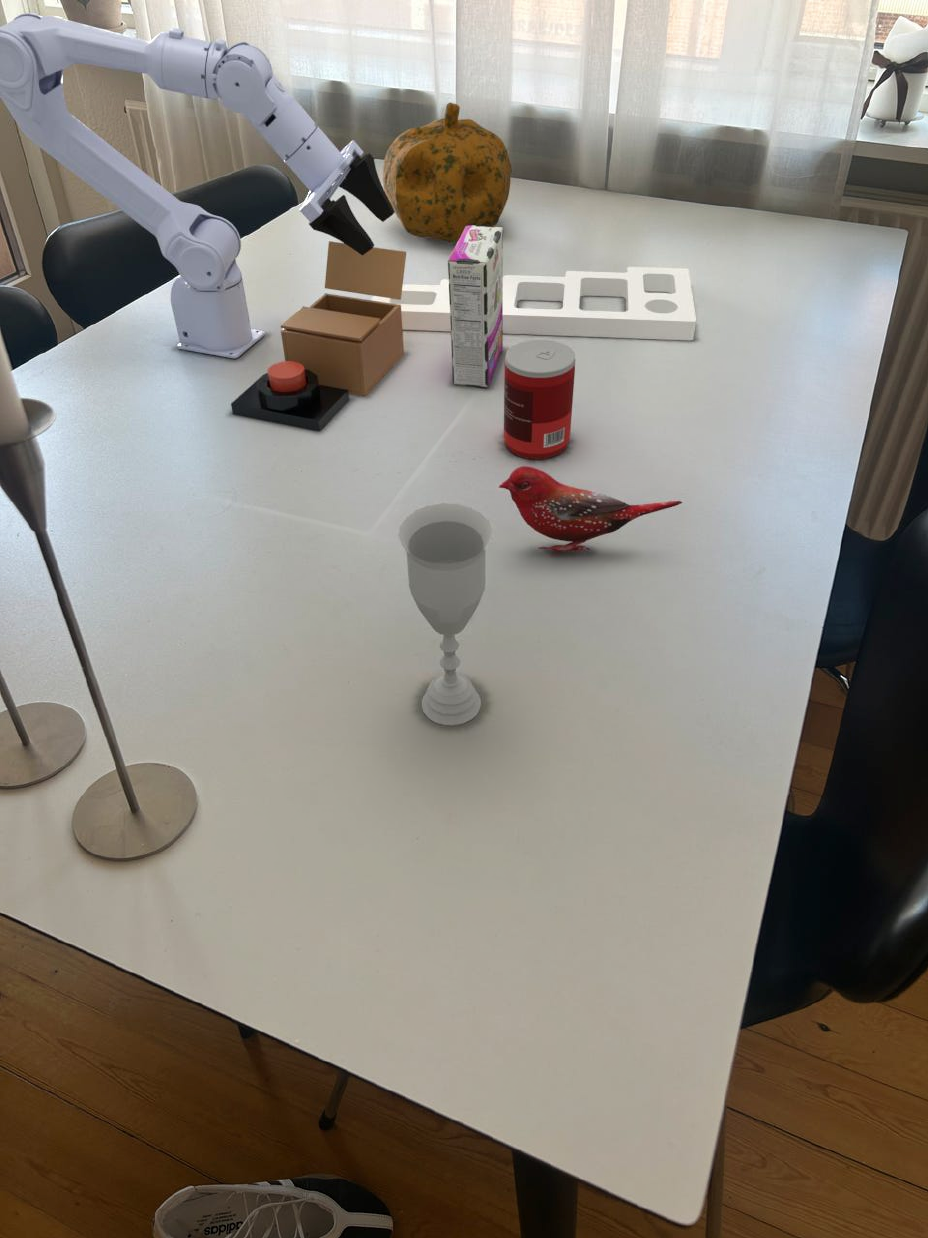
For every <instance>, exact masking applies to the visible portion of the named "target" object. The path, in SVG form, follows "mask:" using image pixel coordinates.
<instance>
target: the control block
mask: <svg viewBox="0 0 928 1238" xmlns="http://www.w3.org/2000/svg"><path fill="white" fill-rule="evenodd" d="M305 376H306V386H305V387H304V388H301V389H299V390H296V391H291V392H278V391H273V390H272V389H271V388H270V383H269V377H268V372H265V373H264V374H262V375H261V376H260V377H259V378H258V379H257V380H255V381H254V382H253V384H251V385H250V386H249V387H248V388H247V389H245V390H244V391H243V392H242V393H241V394H240V395H239V396H238V397H237V398H235V399H234V400H233V401H232V402H231V403H230V407H231V412H232V415H235V416H239V417H245V418H249V419H255V420H259V421H264V422H270V423H274V424H280V425H284V426H289V427H295V428H299V429H305V430H310V431H315V432H321V431H322V430H323V429H324V428H325V427H326V426H327V424H329V422H330V421H332V420H333V418H335V416H336V415H337V414H338V413H339V412H340V411H341V410H342V409H343V407H344V406H345V405H346V404H347V403H348V402H350V395H349V393H348V390H346V389H341V388H336V387H330V386H325V385H319V382H318V376H317V375H316V374H314V373H313V372H312V371H310V370H307V369H305Z"/></svg>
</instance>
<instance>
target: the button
mask: <svg viewBox="0 0 928 1238" xmlns="http://www.w3.org/2000/svg"><path fill="white" fill-rule="evenodd" d="M267 373H268V377H269V383H270V388H271V389H272V390H273V391H278V392H291V391H296V390H299V389H301V388H304V387H305V386H306V376H305V369H304V366H303V365H302V364H301V363H298V362H294V361H285V360H284V361H278V362H276V363H273V364H272V365H271V366H269V367H268V368H267Z"/></svg>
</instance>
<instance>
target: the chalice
mask: <svg viewBox="0 0 928 1238" xmlns="http://www.w3.org/2000/svg"><path fill="white" fill-rule="evenodd" d="M398 538H399V541H400V544H401V546H402V548H403V549H404V550H405V552H406V561H407V562H406V564H407V577H408V579H407V580H408V587H409V591H410V595H411V596H412V598H413V600H414V602H415V604H416V606H417V608H418V611H419V612H420V614H421V615H422V616H423V617H424V618H425V620H426V622H427V623H428V624H429V625H430V627H431V628H432V629H433V631H434V632H435V633H437V634H439V635H441V636H442V640H441V641H440V642H439V648H440V650H441V651H442V653H443V655H442V656H441V657H440V659H439V661H438V662H439V666H440V667H441V668H442V669H443V670H444V672H443V673H441V674H439V675H437V676H435V677H434V678H433V679H431V681H430V683H429V686H428V687H427V689H426V690H425V693H424V695H423V697H422V699H421V708H422V712H423V713H424V714H425V716H426V717H427V718H428V720H430V721H433V722H434V723H437V724H440V725H443V726H458V725H463V724H465V723H467V722H469V721H472V720H473V719H474V718H475V717H476V716H477V715H478V713H479V711H480V709H481V704H482V700H481V696H480V694H479V693H478V692H477V691H476V688H475V687H474V685H473V684H472V681H471V680H470V679H469V678H468V677H467V676H465V675H463V674H462V673H459V672H456V671H457V669H458V668H459V667H460V665H461V659H460V657H459V656H457V654H456V652H457V651H458V649H459V648H460V643H459V641H458V640H457V639H456V635H457V634H459V633H461V632H462V631H464V629H465V627H466V626H467V625H468V623H469V622H470V620H471V619H472V617H473V615H474V614H475V612H476V611H477V608H478V607H479V605H480V602H481V600H482V598H483V595H484V593H485V590H486V555H487V554H486V549H488V546H489V545H490V543H491V541H492V539H493V528H492V526H491V523H490V521H489V519H488V518H487V517H485V516H484V514H483V513H482V512H480V511H478V510H476V509H474V508H472V507H470V506H467V505H463V504H459V503H447V502H446V503H445V502H444V503H443V502H442V503H435V504H430V505H426V506H423V507H421V508H418V509H416V510H414V511H413V512H412V513H410V514H409V515H407V516H406V517H405V519H404V520H403V521H402V523H401V524H400V527H399V531H398Z"/></svg>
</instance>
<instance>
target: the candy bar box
mask: <svg viewBox="0 0 928 1238" xmlns="http://www.w3.org/2000/svg"><path fill="white" fill-rule="evenodd" d="M503 230H504V228H503V227H501V226H493V227H488V226H476V225H470V226H466V227H465V229H464V231H463V233H462V235H461V237H460V238H459V239H458V240H457V242H456V245H455V246H454V248H453V250H452V252H451V254H450V256H449V258H448V259H447V273H448V279H449V302H450V321H451V331H450V341H451V343H450V345H451V368H452V372H451V373H452V384H453V385H455V386H460V387H475V388H489V386H490V383H491V380H492V378H493V375H494V373H495V370H496V367H497V366H498V365H497V364H498V362H499V359H500V356H501V355H502V351H503V350H504V344H503V343H504V341H503V339H504V338H503V337H504V336H503V335H504V333H503V290H502V287H503V278H504V275H503V273H504V272H503V255H504V253H503V248H504V247H503Z"/></svg>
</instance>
